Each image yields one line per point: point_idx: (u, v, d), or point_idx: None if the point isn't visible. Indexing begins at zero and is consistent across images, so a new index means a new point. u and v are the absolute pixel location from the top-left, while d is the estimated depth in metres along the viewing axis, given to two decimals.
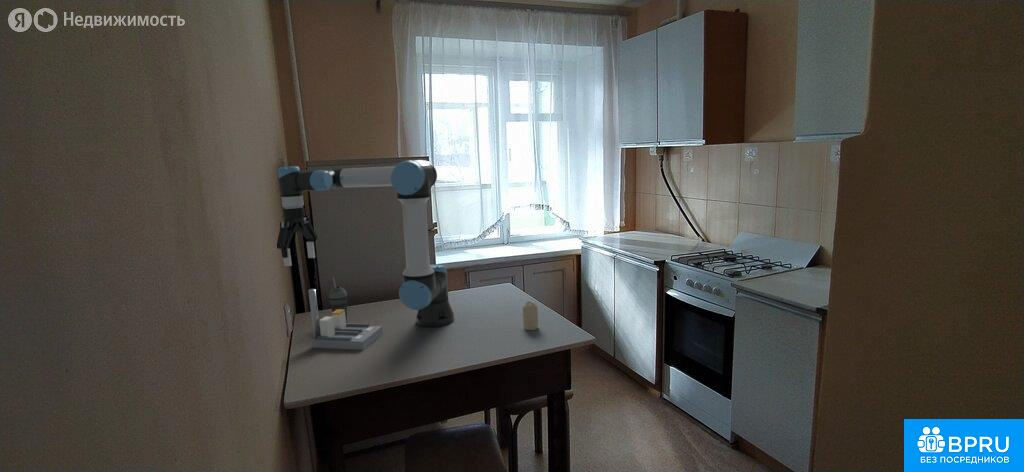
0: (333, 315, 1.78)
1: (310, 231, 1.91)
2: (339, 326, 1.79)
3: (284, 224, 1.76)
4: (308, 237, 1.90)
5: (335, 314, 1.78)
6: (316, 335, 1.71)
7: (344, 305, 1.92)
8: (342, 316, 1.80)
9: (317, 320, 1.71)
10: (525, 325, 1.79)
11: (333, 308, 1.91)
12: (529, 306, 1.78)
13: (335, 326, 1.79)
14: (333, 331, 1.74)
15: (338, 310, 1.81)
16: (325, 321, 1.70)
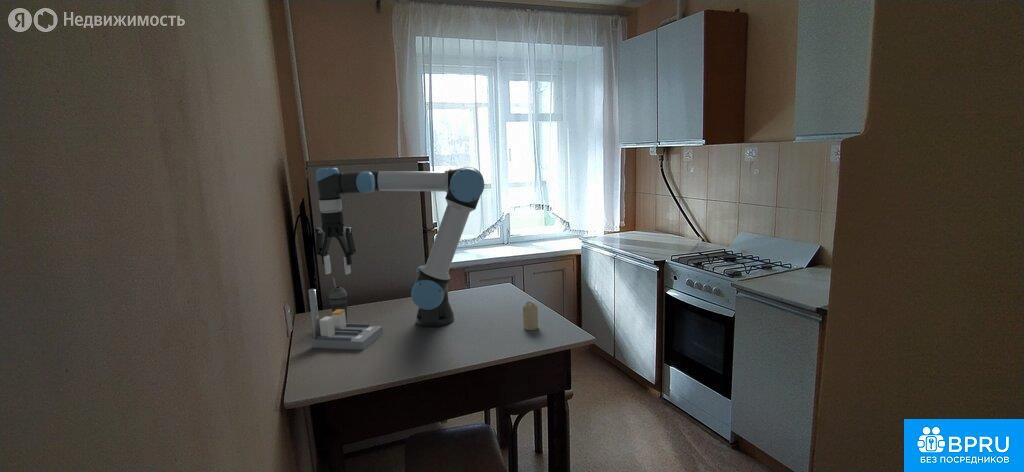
0: (333, 315, 1.78)
1: None
2: (339, 326, 1.79)
3: None
4: None
5: (335, 314, 1.78)
6: (316, 335, 1.71)
7: (344, 305, 1.92)
8: (342, 316, 1.80)
9: (317, 320, 1.71)
10: (525, 325, 1.79)
11: (333, 308, 1.91)
12: (529, 306, 1.78)
13: (335, 326, 1.79)
14: (333, 331, 1.74)
15: (338, 310, 1.81)
16: (325, 321, 1.70)
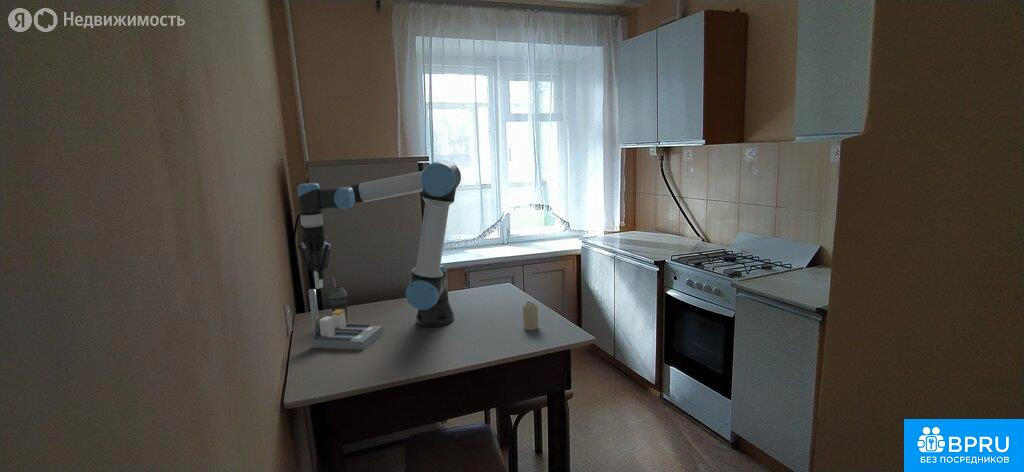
0: (333, 315, 1.78)
1: None
2: (339, 326, 1.79)
3: None
4: None
5: (335, 314, 1.78)
6: (316, 335, 1.71)
7: (344, 305, 1.92)
8: (342, 316, 1.80)
9: (317, 320, 1.71)
10: (525, 325, 1.79)
11: (333, 308, 1.91)
12: (529, 306, 1.78)
13: (335, 326, 1.79)
14: (333, 331, 1.74)
15: (338, 310, 1.81)
16: (325, 321, 1.70)
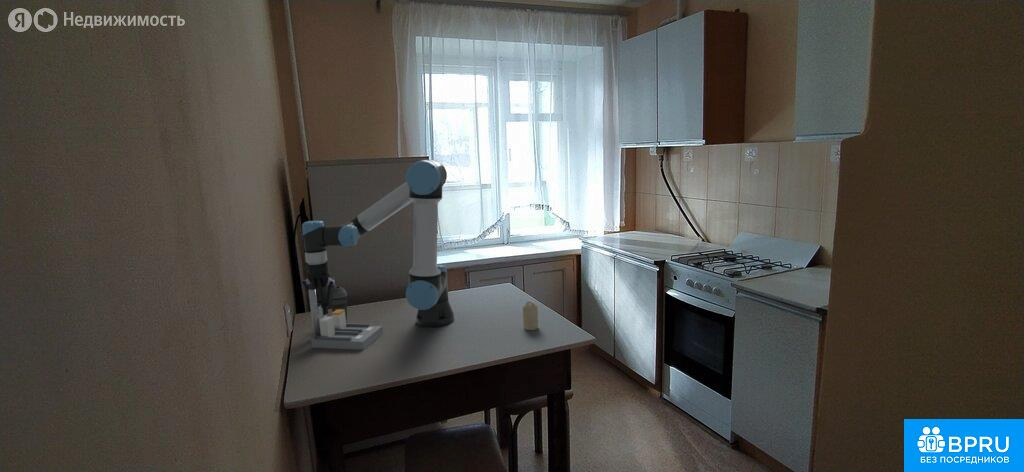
0: (333, 315, 1.78)
1: None
2: (339, 326, 1.79)
3: None
4: None
5: (335, 314, 1.78)
6: (316, 335, 1.71)
7: (344, 305, 1.92)
8: (342, 316, 1.80)
9: (317, 320, 1.71)
10: (525, 325, 1.79)
11: (333, 308, 1.91)
12: (529, 306, 1.78)
13: (335, 326, 1.79)
14: (333, 331, 1.74)
15: (338, 310, 1.81)
16: (325, 321, 1.70)
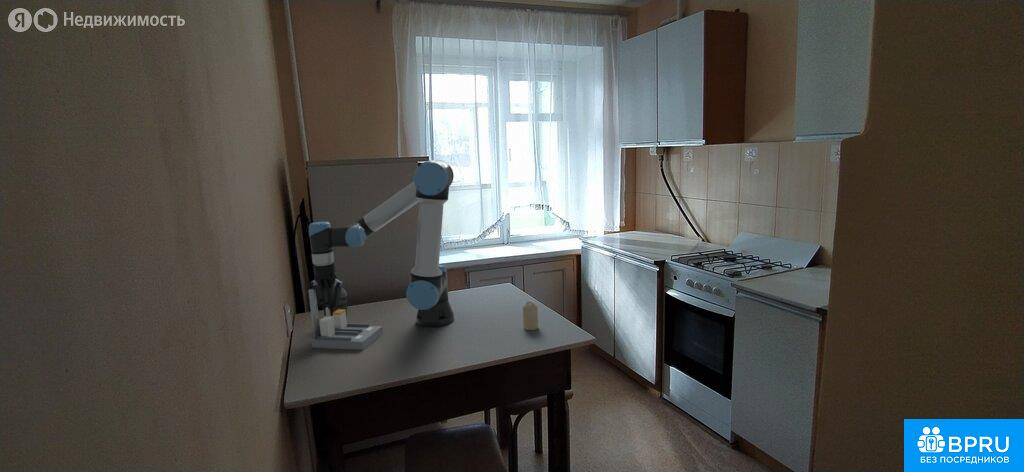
0: (334, 315, 1.78)
1: None
2: (340, 326, 1.79)
3: None
4: None
5: (336, 314, 1.78)
6: (316, 335, 1.71)
7: (344, 305, 1.92)
8: (343, 316, 1.80)
9: (317, 320, 1.71)
10: (525, 325, 1.79)
11: None
12: (529, 306, 1.78)
13: (336, 326, 1.79)
14: (333, 331, 1.74)
15: (339, 310, 1.81)
16: (325, 321, 1.70)
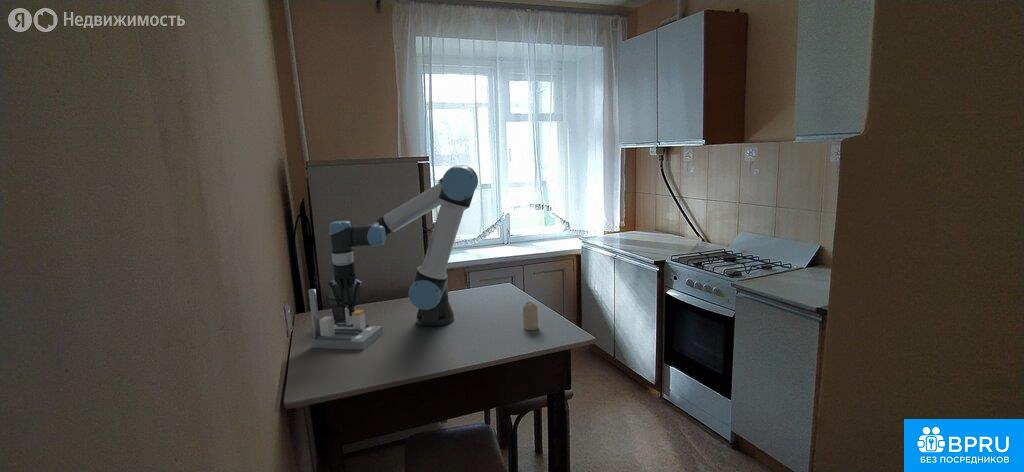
0: (353, 316, 1.77)
1: None
2: (359, 327, 1.77)
3: None
4: None
5: (355, 315, 1.77)
6: (316, 335, 1.71)
7: None
8: (362, 317, 1.79)
9: (317, 320, 1.71)
10: (525, 325, 1.79)
11: (333, 308, 1.91)
12: (529, 306, 1.78)
13: (355, 327, 1.78)
14: (333, 331, 1.74)
15: (358, 310, 1.79)
16: (325, 321, 1.70)
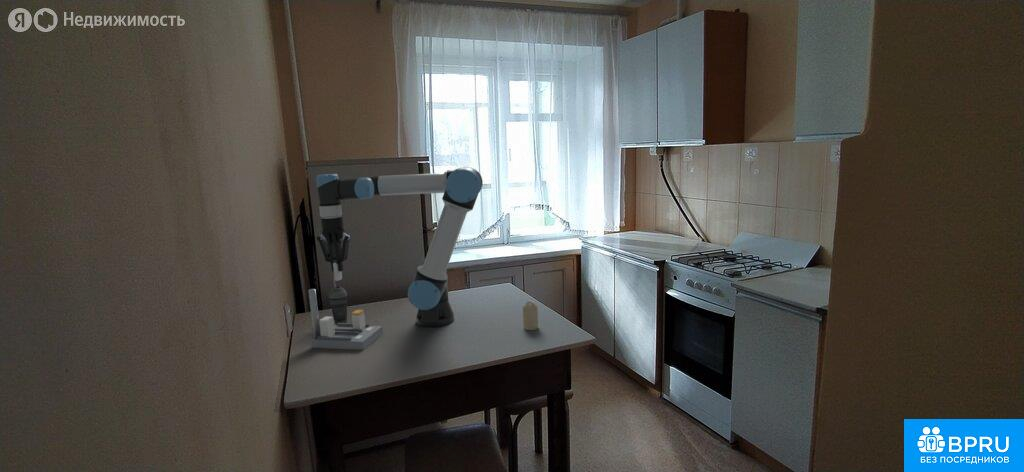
0: (353, 316, 1.77)
1: None
2: (359, 327, 1.77)
3: None
4: None
5: (355, 314, 1.77)
6: (316, 335, 1.71)
7: (344, 305, 1.92)
8: (362, 317, 1.79)
9: (317, 320, 1.71)
10: (525, 325, 1.79)
11: (333, 308, 1.91)
12: (529, 306, 1.78)
13: (355, 327, 1.78)
14: (333, 331, 1.74)
15: (357, 310, 1.79)
16: (325, 321, 1.70)
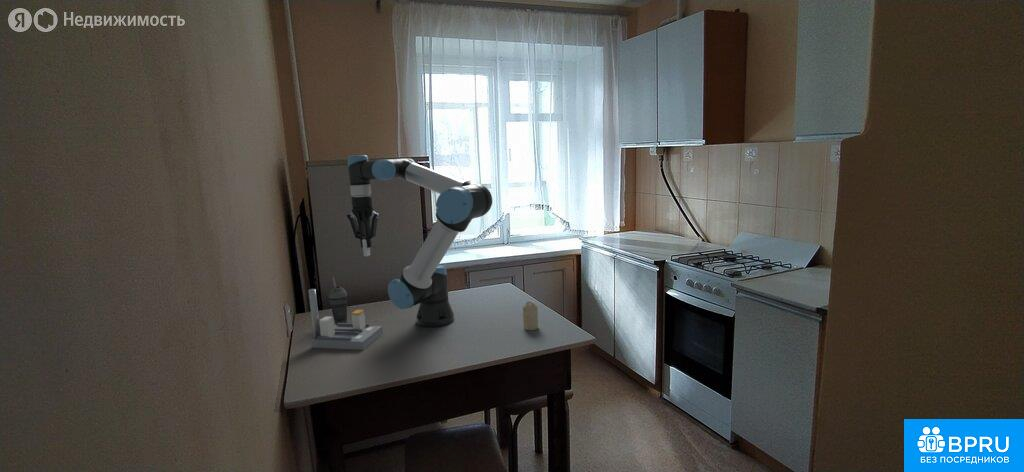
0: (353, 316, 1.77)
1: None
2: (359, 327, 1.77)
3: None
4: None
5: (355, 314, 1.77)
6: (316, 335, 1.71)
7: (344, 305, 1.92)
8: (362, 317, 1.79)
9: (317, 320, 1.71)
10: (525, 325, 1.79)
11: (333, 308, 1.91)
12: (529, 306, 1.78)
13: (355, 327, 1.78)
14: (333, 331, 1.74)
15: (357, 310, 1.79)
16: (325, 321, 1.70)
